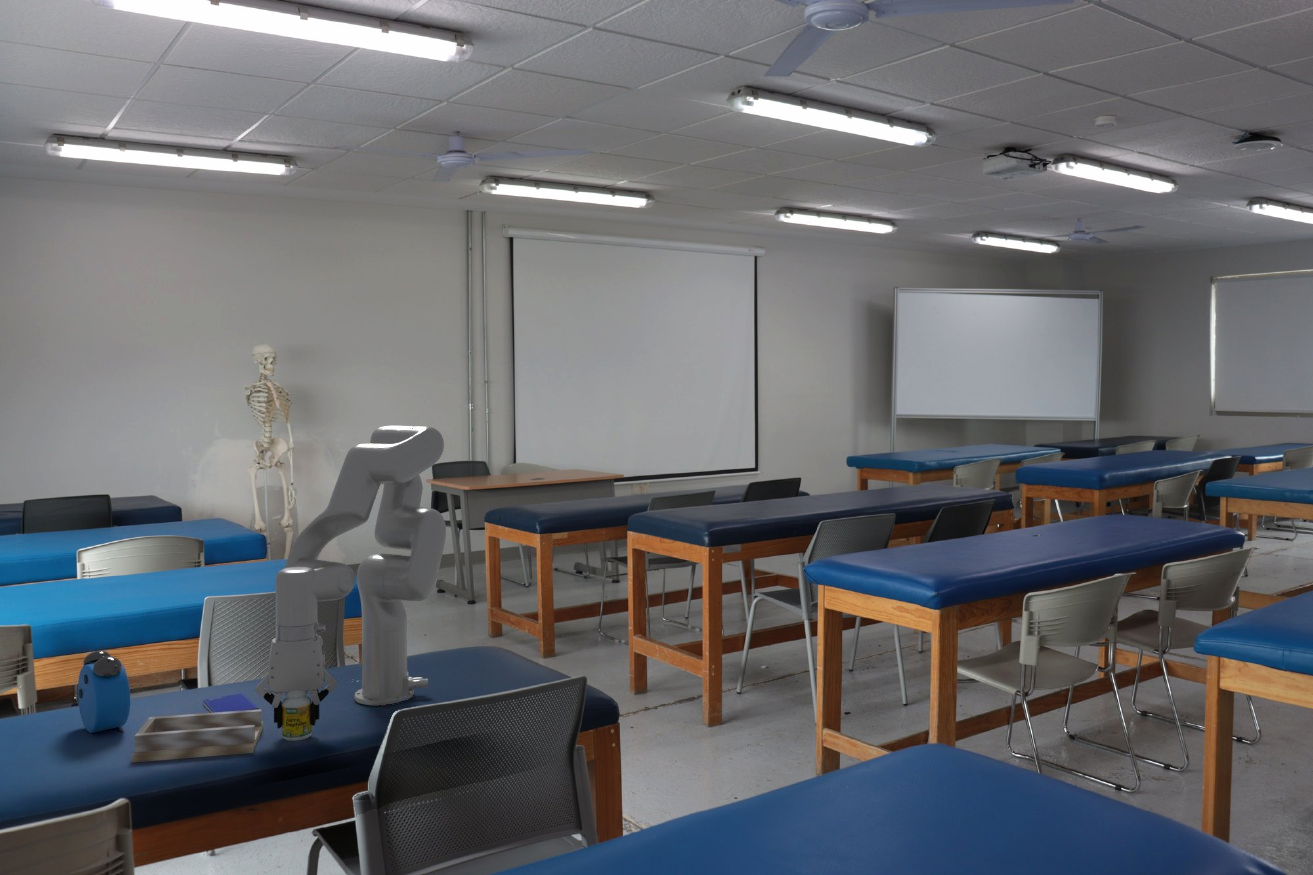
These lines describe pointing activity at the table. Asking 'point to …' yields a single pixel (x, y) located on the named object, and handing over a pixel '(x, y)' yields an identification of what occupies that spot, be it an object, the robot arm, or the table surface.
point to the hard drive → (229, 703)
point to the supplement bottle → (296, 716)
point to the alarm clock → (103, 692)
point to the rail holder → (198, 735)
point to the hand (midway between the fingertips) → (296, 723)
